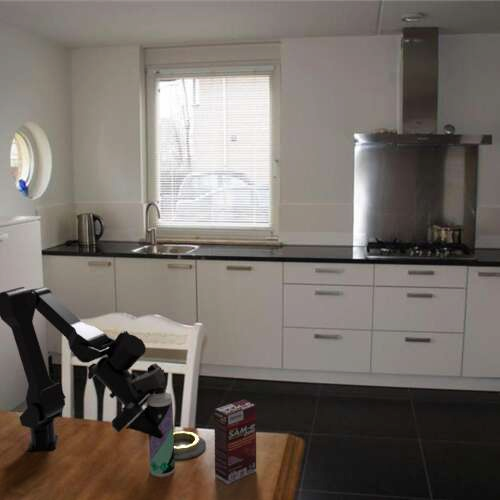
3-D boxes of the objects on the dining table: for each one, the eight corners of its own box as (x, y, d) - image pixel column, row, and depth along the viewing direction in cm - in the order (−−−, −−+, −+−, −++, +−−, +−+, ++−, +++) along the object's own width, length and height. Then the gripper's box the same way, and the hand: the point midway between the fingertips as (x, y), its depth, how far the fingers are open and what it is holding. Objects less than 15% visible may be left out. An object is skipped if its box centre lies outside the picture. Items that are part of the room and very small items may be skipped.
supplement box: (228, 485, 135) (226, 415, 133) (214, 476, 139) (212, 408, 136) (258, 471, 141) (257, 404, 138) (243, 463, 145) (242, 398, 142)
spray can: (145, 471, 142) (141, 386, 138) (164, 462, 146) (161, 379, 142) (160, 479, 138) (157, 393, 135) (179, 470, 142) (176, 385, 139)
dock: (154, 438, 157) (154, 431, 157) (202, 434, 159) (202, 426, 159) (157, 462, 146) (156, 454, 145) (208, 457, 148) (208, 448, 147)
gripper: (122, 372, 130) (175, 428, 129) (157, 344, 147) (203, 393, 147) (90, 405, 133) (141, 459, 132) (128, 374, 151) (173, 421, 150)
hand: (166, 431), depth 140 cm, fingers closed on spray can, 5 cm apart
